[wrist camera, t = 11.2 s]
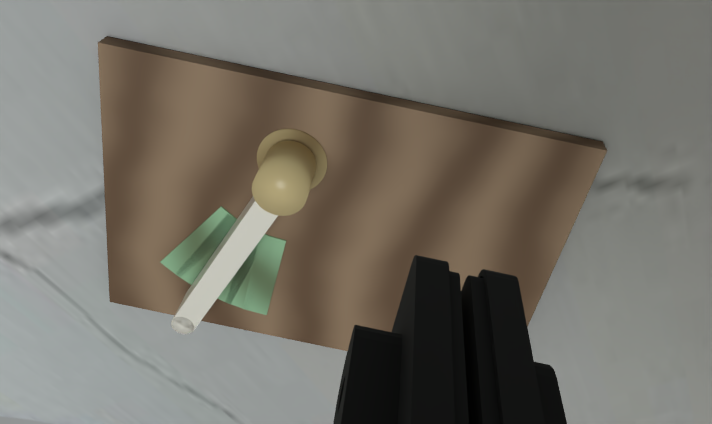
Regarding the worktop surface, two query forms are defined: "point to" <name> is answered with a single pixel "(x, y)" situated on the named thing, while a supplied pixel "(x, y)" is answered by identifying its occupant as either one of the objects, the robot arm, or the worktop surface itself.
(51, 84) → the worktop surface
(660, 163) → the worktop surface
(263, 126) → the dial board
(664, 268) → the worktop surface
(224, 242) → the pointer
